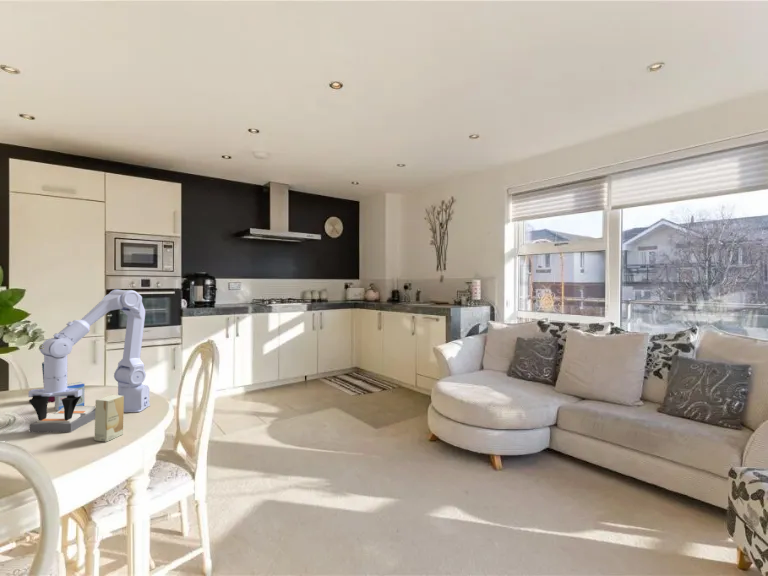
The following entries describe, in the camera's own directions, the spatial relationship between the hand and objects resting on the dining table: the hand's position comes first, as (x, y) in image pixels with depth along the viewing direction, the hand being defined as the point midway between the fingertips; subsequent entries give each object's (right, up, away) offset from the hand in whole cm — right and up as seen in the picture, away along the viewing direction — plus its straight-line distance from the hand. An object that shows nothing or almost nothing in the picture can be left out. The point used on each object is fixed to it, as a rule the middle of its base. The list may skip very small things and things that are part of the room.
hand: (55, 419), depth 123 cm
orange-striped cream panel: (-1, -1, +9) cm, 9 cm away
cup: (-25, -2, +28) cm, 38 cm away
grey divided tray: (-1, -3, +5) cm, 6 cm away
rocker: (0, -1, +2) cm, 2 cm away
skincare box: (+20, -4, -5) cm, 21 cm away
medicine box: (-12, -3, +20) cm, 24 cm away
